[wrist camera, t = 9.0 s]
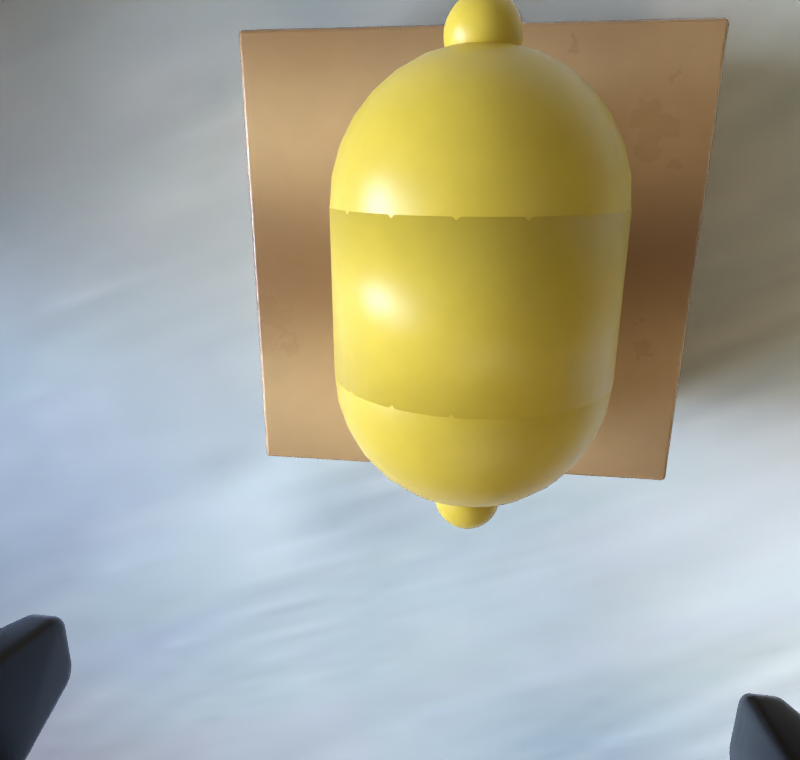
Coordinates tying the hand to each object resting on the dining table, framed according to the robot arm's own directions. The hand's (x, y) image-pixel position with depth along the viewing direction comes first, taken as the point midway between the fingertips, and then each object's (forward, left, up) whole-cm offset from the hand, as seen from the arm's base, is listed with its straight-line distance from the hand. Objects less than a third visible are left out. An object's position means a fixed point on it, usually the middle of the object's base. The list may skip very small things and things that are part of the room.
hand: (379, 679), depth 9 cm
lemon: (+4, -1, -7) cm, 8 cm away
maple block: (+4, -1, -12) cm, 12 cm away
